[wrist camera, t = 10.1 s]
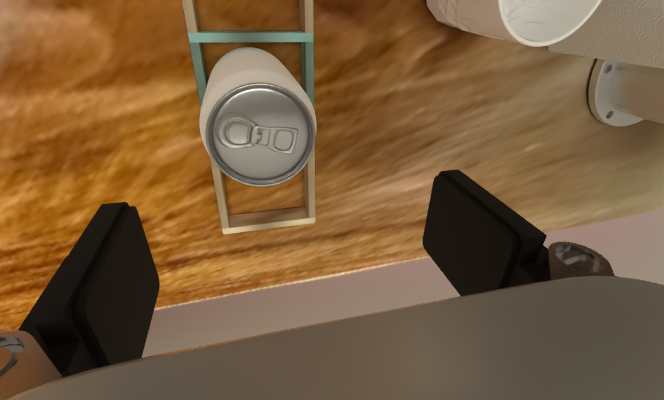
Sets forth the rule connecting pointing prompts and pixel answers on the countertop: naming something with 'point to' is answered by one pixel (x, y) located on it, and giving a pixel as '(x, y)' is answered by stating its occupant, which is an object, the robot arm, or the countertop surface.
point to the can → (256, 119)
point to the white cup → (516, 18)
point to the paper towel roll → (620, 33)
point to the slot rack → (307, 74)
